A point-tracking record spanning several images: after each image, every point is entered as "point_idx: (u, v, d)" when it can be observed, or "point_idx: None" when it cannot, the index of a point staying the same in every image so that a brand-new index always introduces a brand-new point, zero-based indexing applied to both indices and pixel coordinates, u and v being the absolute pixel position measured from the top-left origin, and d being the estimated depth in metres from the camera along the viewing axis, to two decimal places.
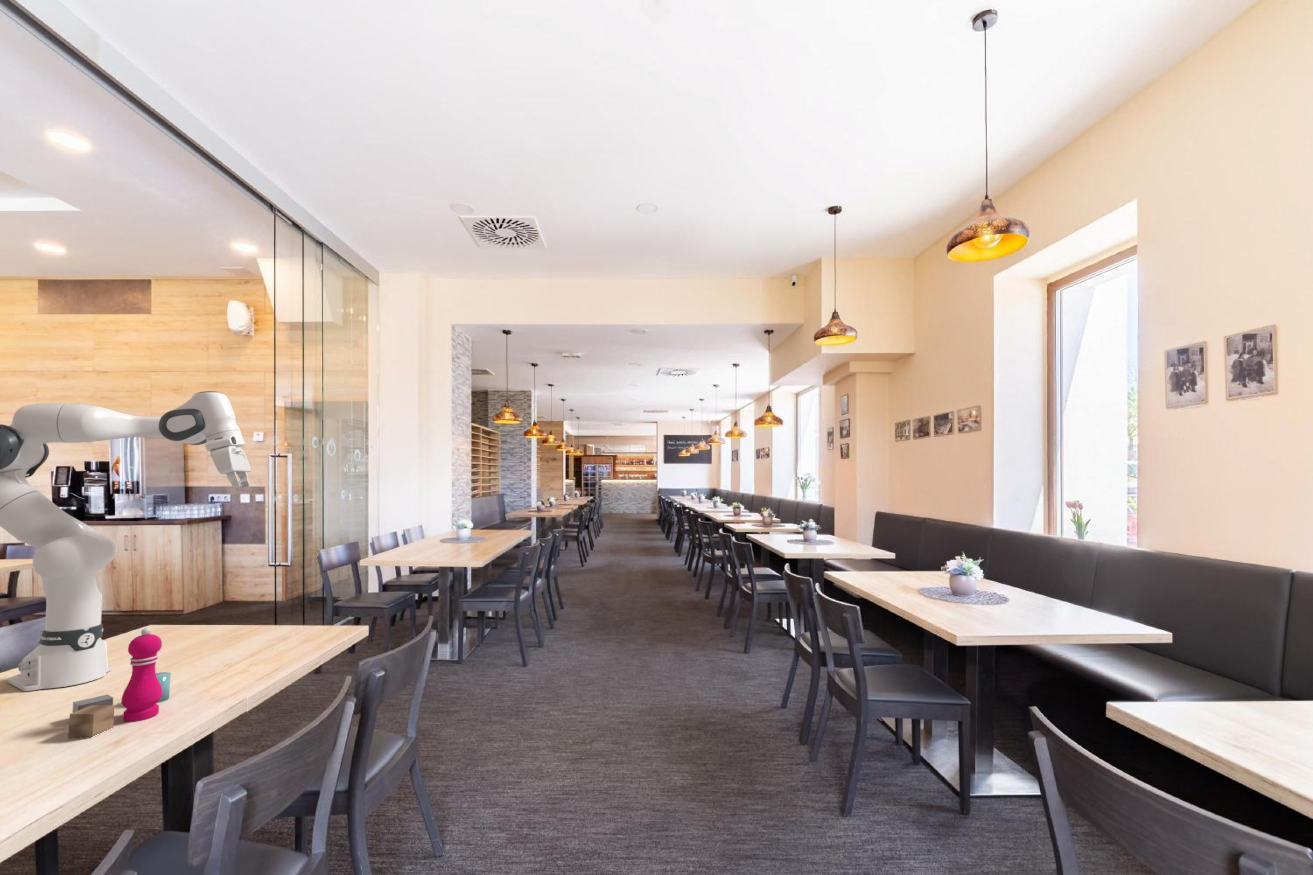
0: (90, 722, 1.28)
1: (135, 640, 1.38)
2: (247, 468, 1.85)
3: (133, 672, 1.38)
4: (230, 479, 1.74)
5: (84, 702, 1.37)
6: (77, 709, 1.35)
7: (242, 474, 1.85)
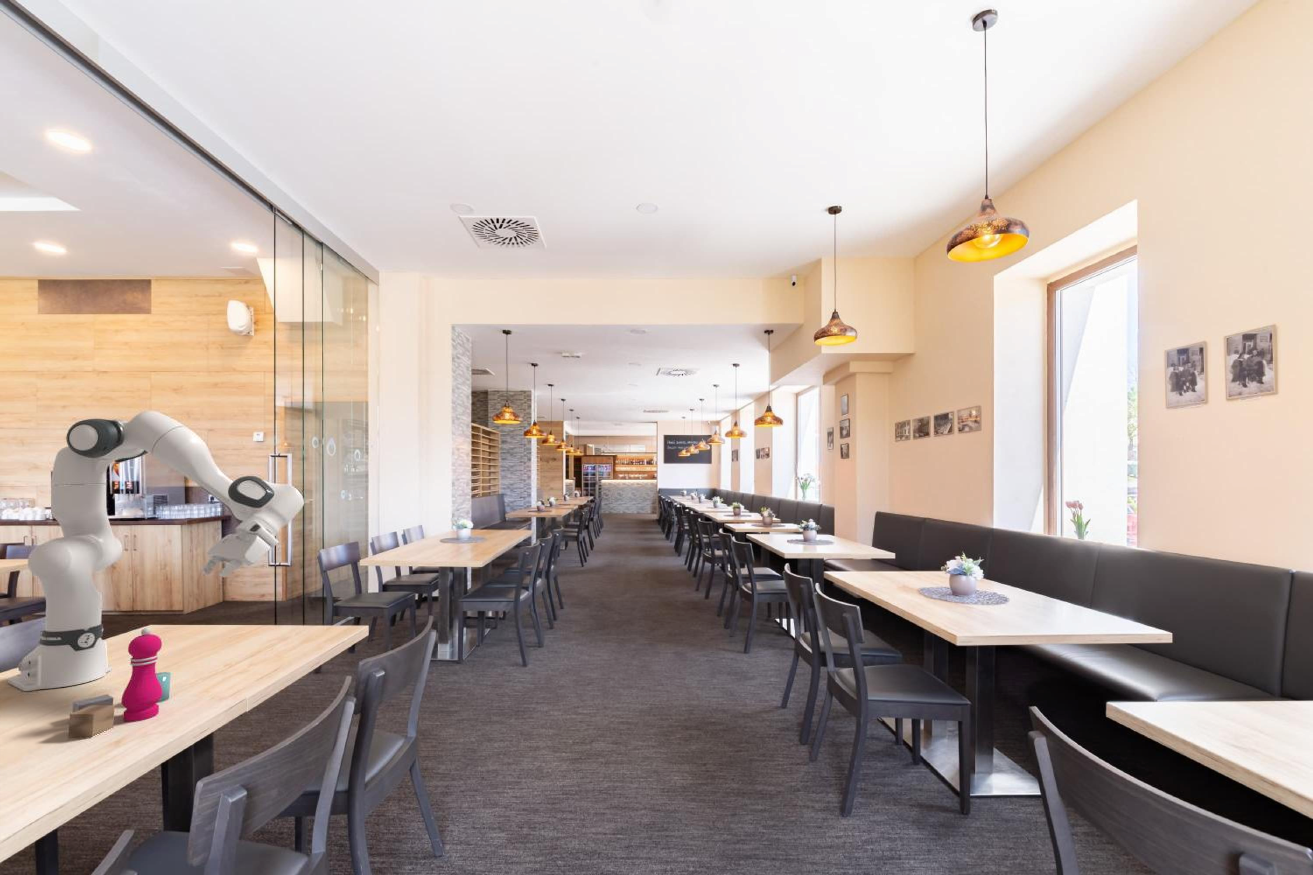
0: (90, 722, 1.28)
1: (135, 640, 1.38)
2: None
3: (133, 672, 1.38)
4: (230, 566, 1.57)
5: (84, 702, 1.37)
6: (77, 709, 1.35)
7: (216, 560, 1.64)
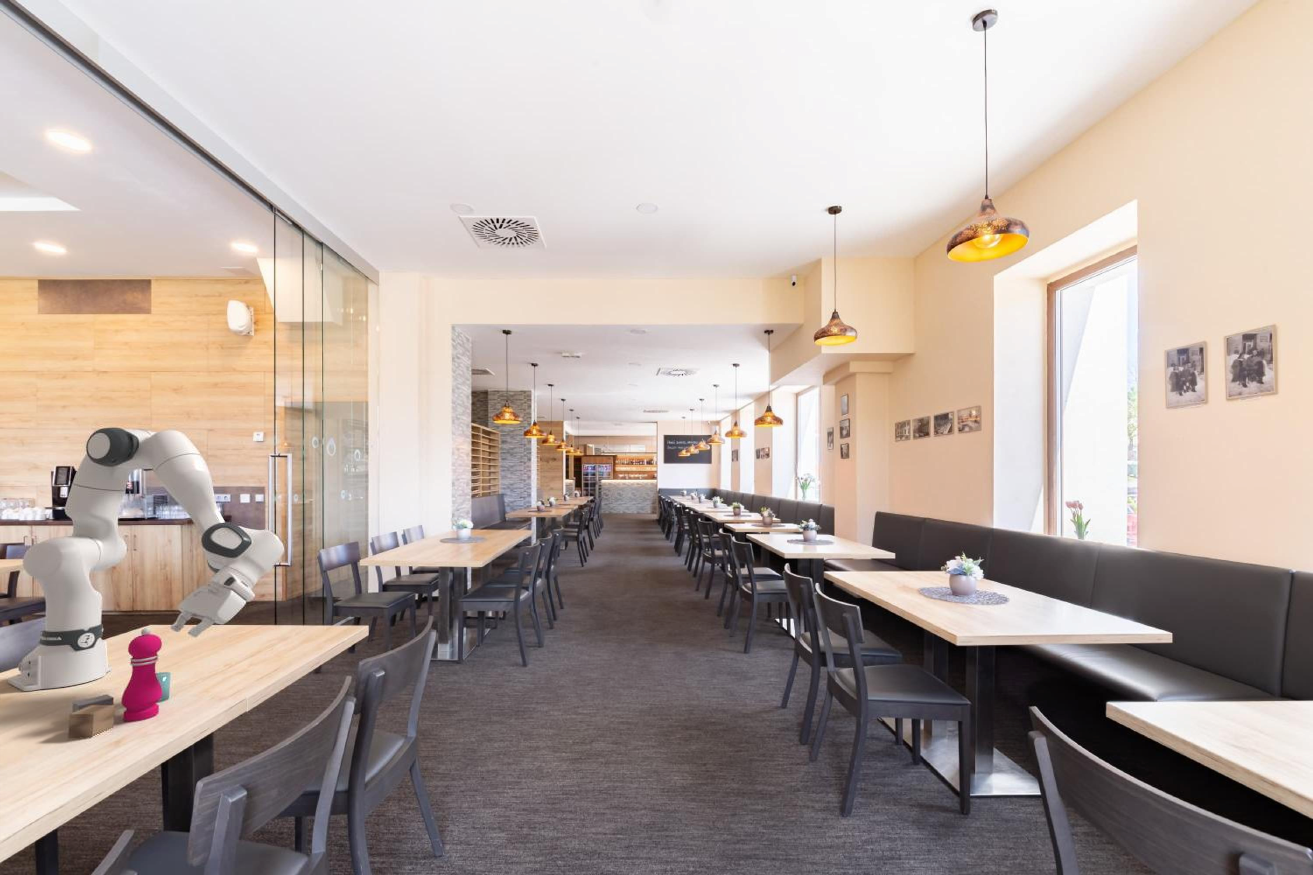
0: (90, 722, 1.28)
1: (135, 640, 1.38)
2: None
3: (133, 672, 1.38)
4: (201, 624, 1.45)
5: (84, 702, 1.37)
6: (78, 709, 1.35)
7: (187, 615, 1.52)
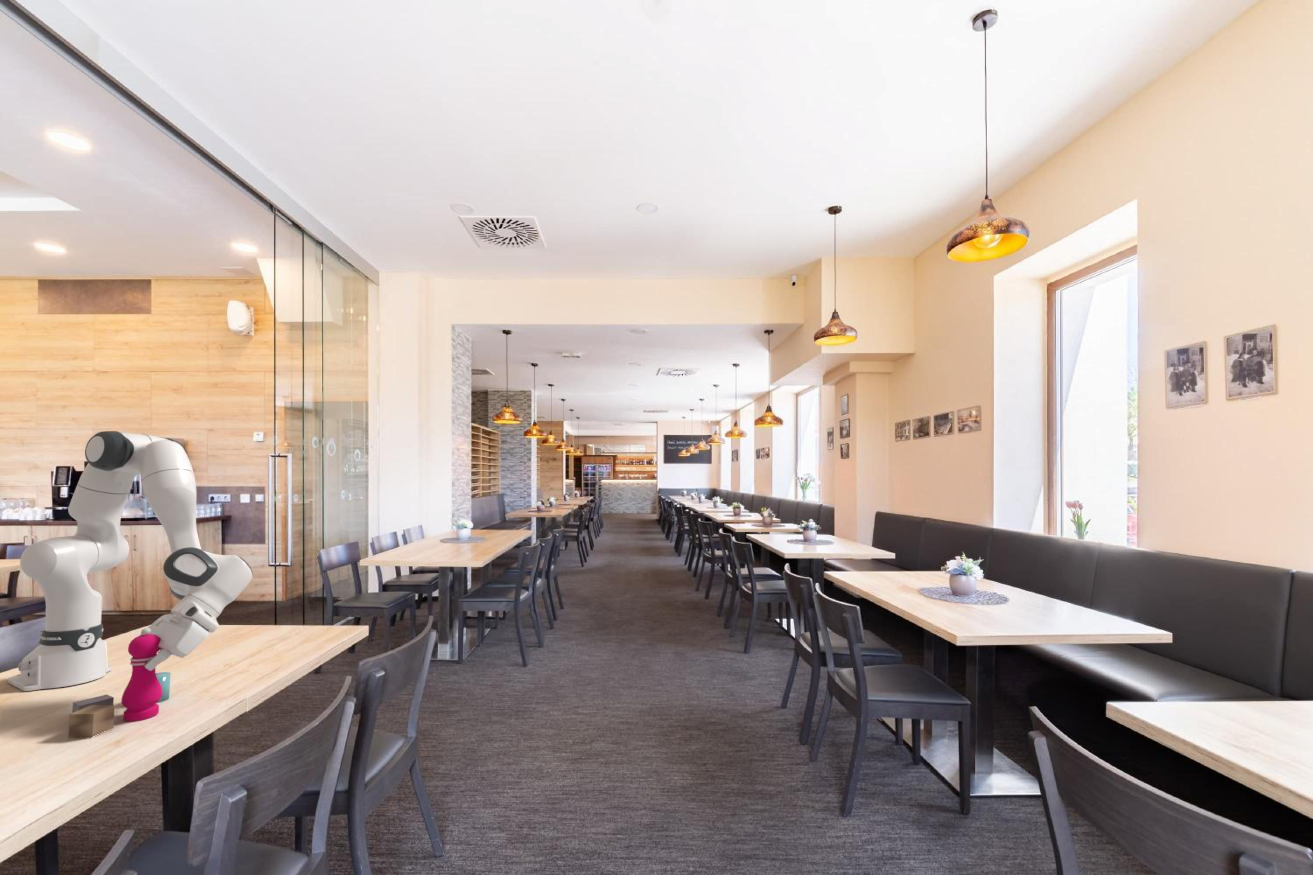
0: (90, 722, 1.28)
1: (135, 640, 1.38)
2: None
3: (133, 672, 1.38)
4: (157, 657, 1.38)
5: (84, 702, 1.37)
6: (78, 709, 1.35)
7: None
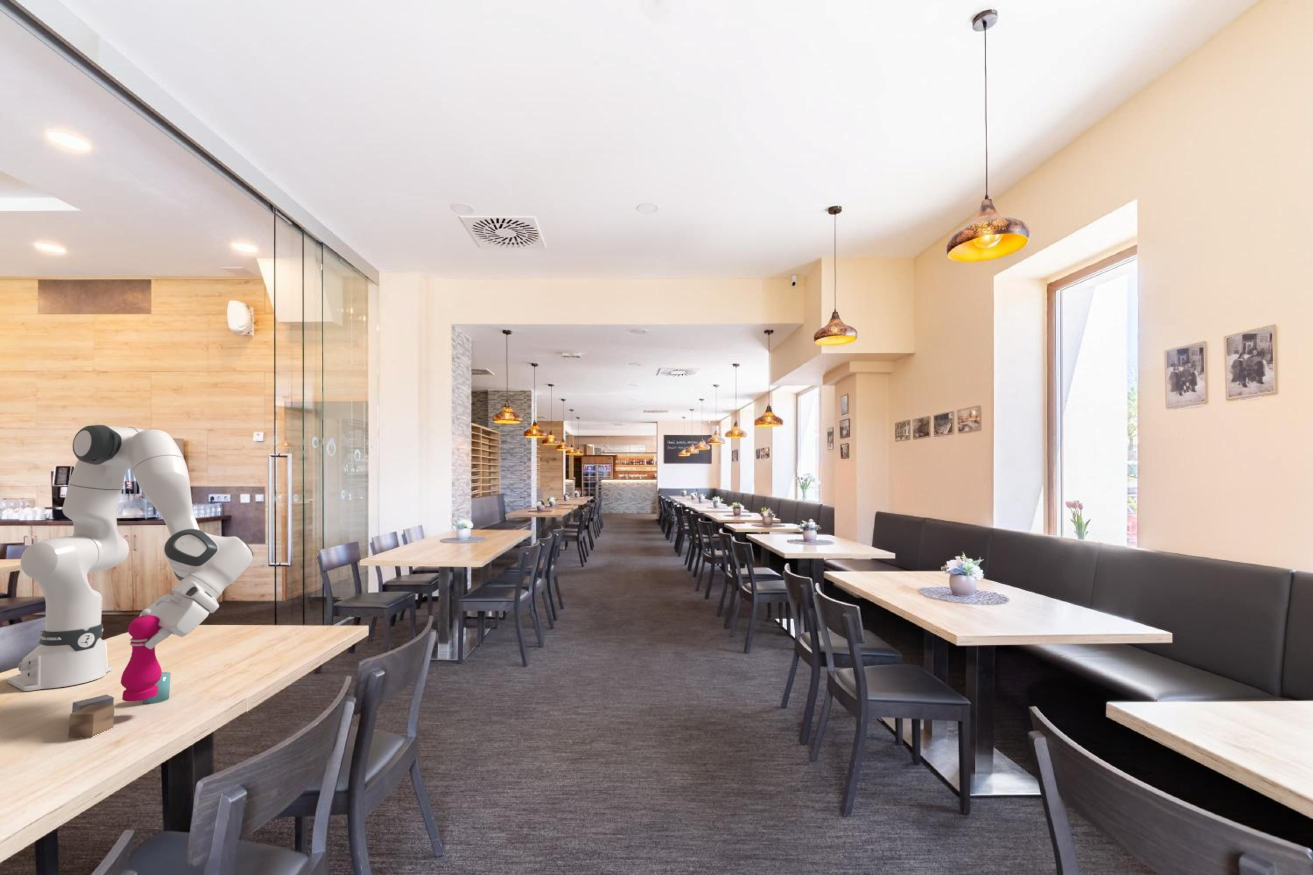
0: (90, 722, 1.28)
1: (135, 621, 1.38)
2: None
3: (133, 652, 1.38)
4: (157, 636, 1.39)
5: (84, 702, 1.37)
6: (78, 709, 1.35)
7: None
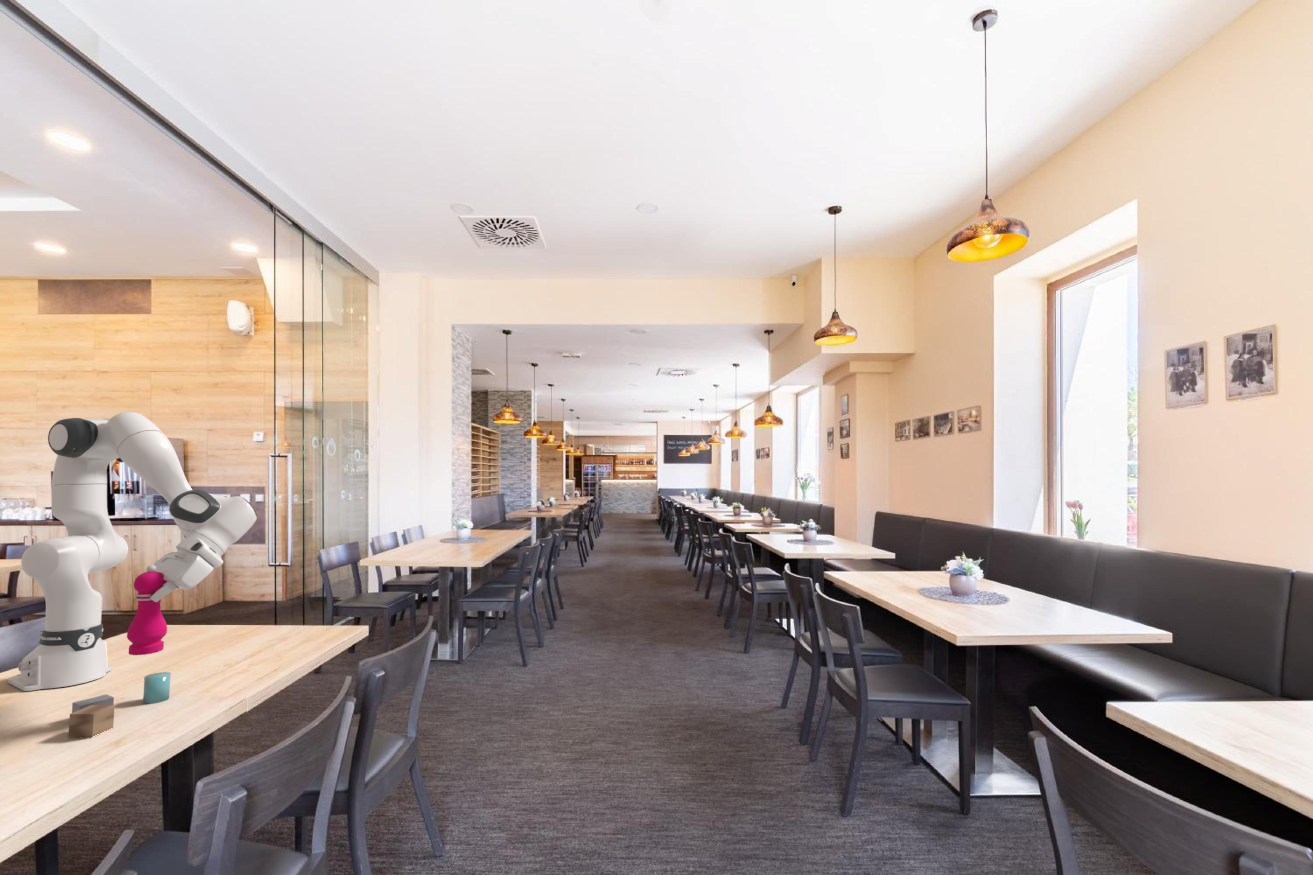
0: (90, 722, 1.28)
1: (141, 576, 1.40)
2: None
3: (139, 607, 1.40)
4: (163, 589, 1.40)
5: (84, 702, 1.37)
6: (78, 709, 1.35)
7: None
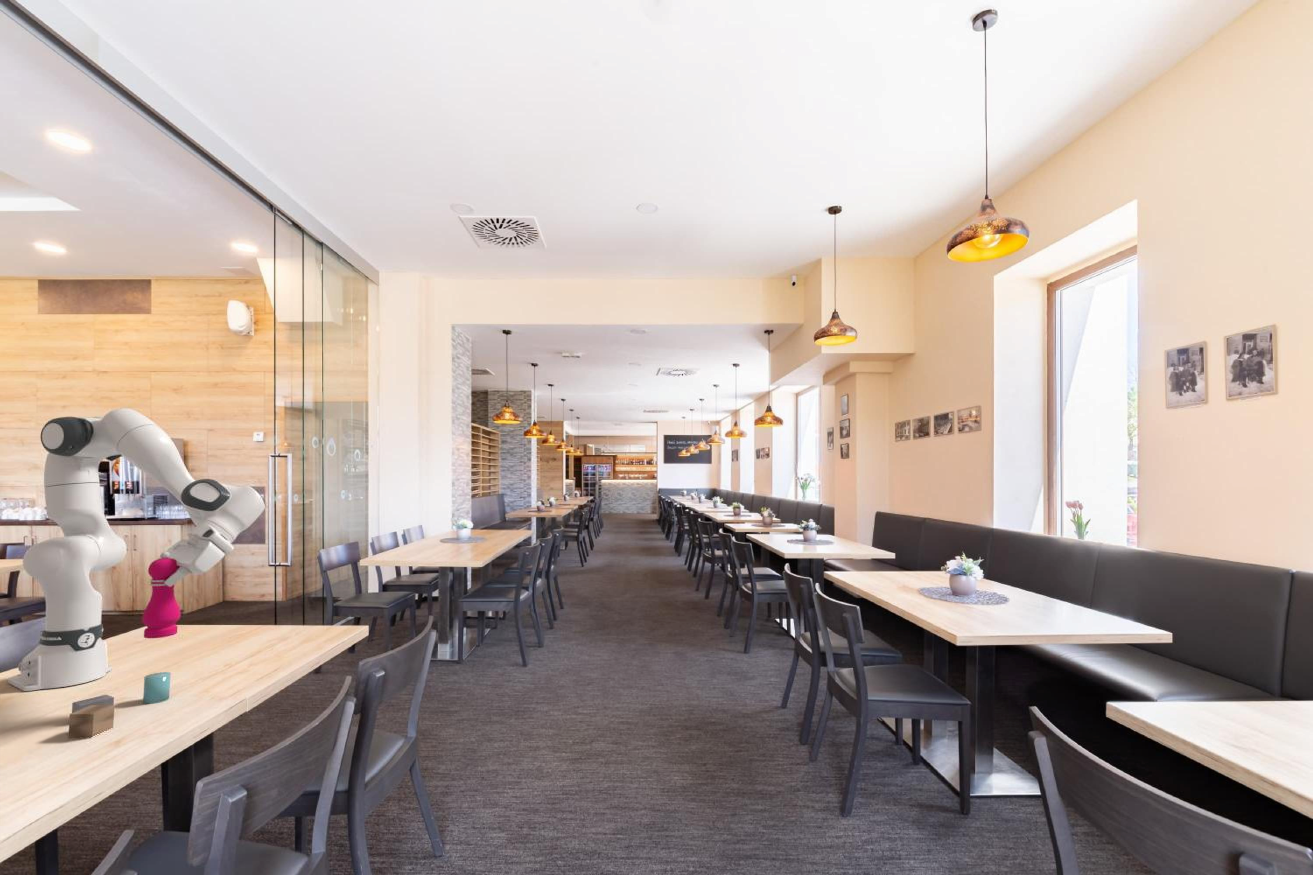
0: (90, 722, 1.28)
1: (155, 562, 1.45)
2: None
3: (153, 592, 1.45)
4: (176, 574, 1.45)
5: (85, 702, 1.37)
6: (78, 709, 1.35)
7: None
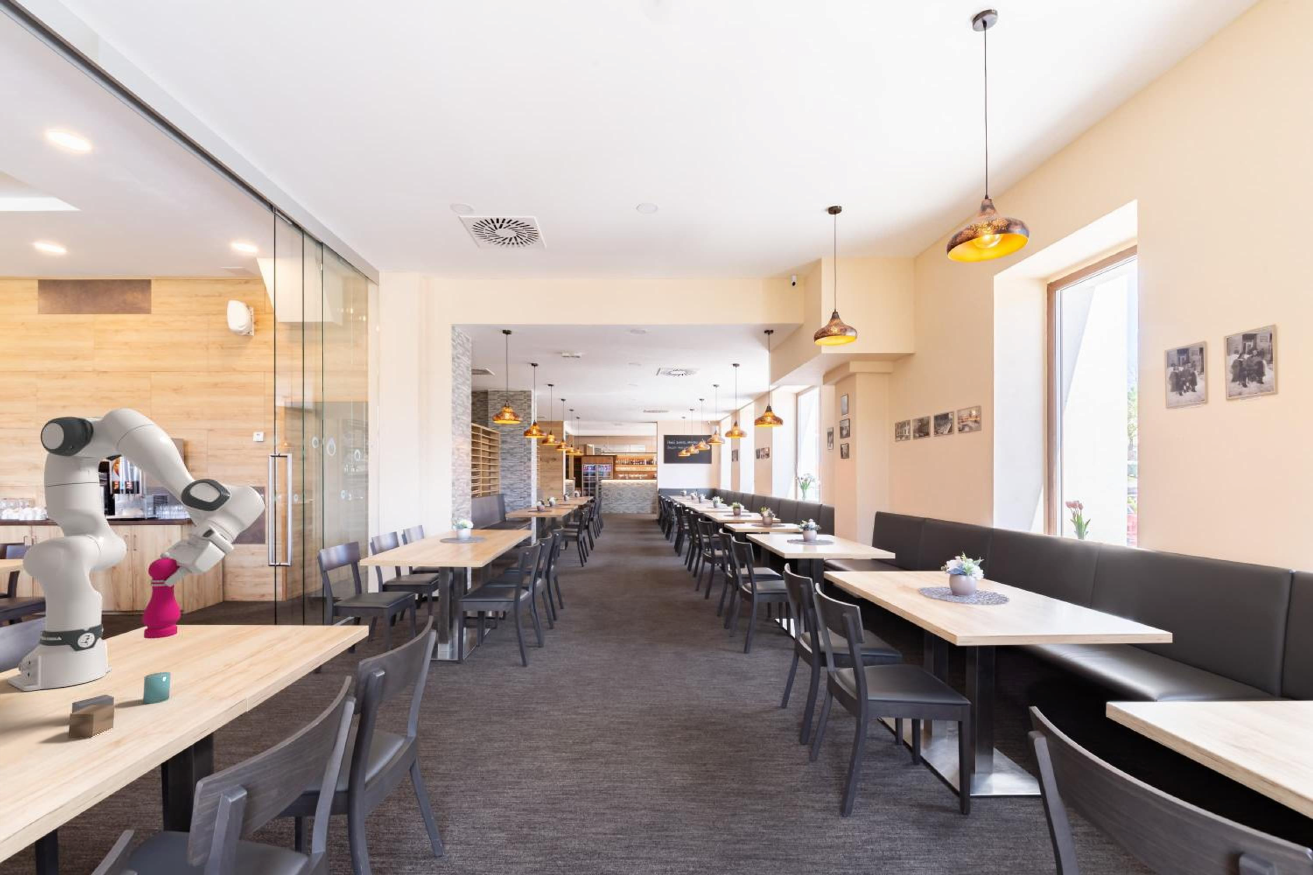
0: (90, 722, 1.28)
1: (155, 562, 1.45)
2: None
3: (153, 593, 1.45)
4: (176, 574, 1.45)
5: (85, 702, 1.37)
6: (79, 709, 1.35)
7: None
